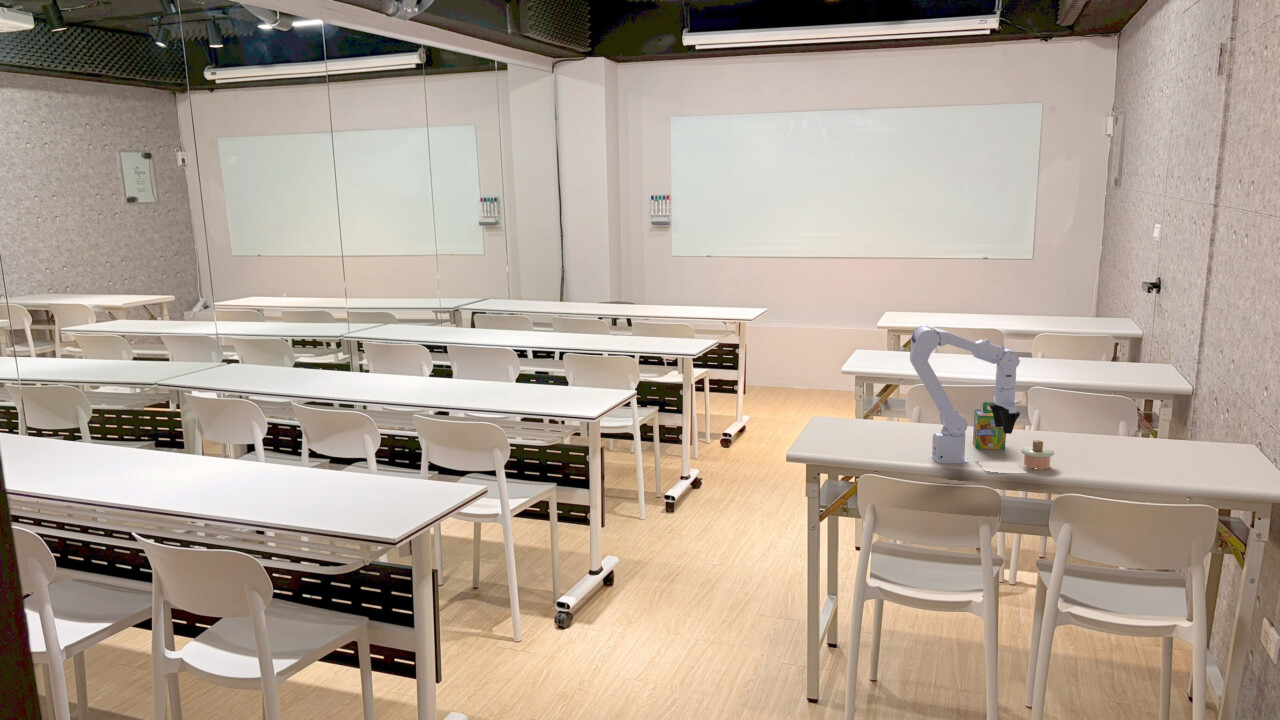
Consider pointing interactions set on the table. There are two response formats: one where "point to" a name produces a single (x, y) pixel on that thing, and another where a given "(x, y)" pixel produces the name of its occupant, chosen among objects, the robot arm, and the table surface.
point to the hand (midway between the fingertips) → (1003, 429)
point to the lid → (1037, 450)
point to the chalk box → (987, 430)
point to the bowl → (1037, 462)
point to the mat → (991, 472)
